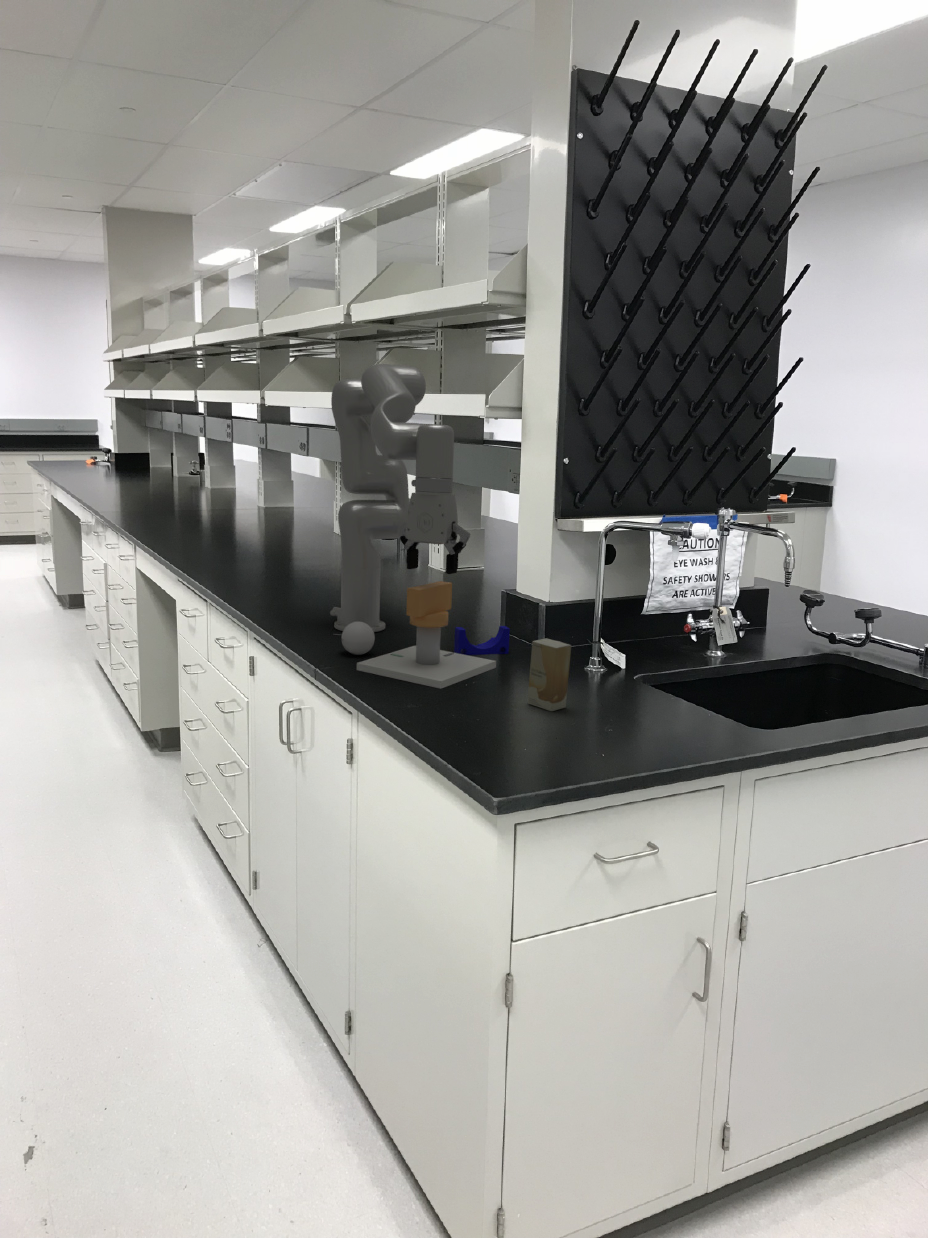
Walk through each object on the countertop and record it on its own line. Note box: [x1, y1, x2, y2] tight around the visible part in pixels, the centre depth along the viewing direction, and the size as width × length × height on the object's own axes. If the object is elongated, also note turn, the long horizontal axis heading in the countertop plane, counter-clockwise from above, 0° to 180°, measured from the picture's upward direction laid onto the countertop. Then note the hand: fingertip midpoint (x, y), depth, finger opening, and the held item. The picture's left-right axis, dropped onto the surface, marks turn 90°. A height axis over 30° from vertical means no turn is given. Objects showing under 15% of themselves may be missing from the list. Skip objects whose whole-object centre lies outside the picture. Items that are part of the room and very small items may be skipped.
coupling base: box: [356, 626, 497, 689], centre depth 196 cm, size 21×21×10 cm
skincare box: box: [527, 637, 572, 712], centre depth 173 cm, size 6×4×12 cm
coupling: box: [405, 580, 453, 628], centre depth 194 cm, size 12×8×8 cm, turn 147°
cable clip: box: [453, 625, 511, 656], centre depth 213 cm, size 12×4×6 cm, turn 107°
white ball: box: [334, 622, 376, 656], centre depth 206 cm, size 10×7×7 cm
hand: (431, 570), depth 192 cm, fingers open, 9 cm apart
